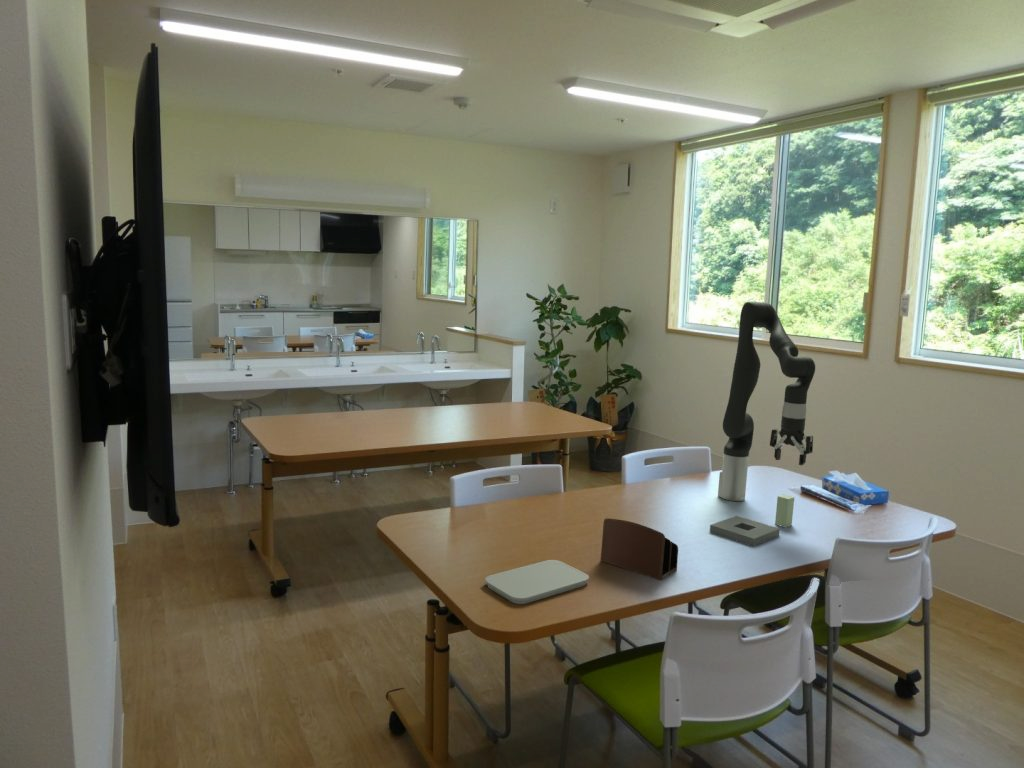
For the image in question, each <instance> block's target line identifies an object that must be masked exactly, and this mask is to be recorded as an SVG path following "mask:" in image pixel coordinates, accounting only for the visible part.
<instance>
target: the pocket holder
mask: <svg viewBox="0 0 1024 768" xmlns="http://www.w3.org/2000/svg"><path fill="white" fill-rule="evenodd" d="M780 530H781V529H780V528H779V527H775V526H773V525H770V524H769V525H768V524H765V523H763V522H759V521H756V520H752V519H749V518H746V517H742V516H738V515H734V516H732V517H728V518H726V519H723V520H720V521H718V522H714V523H711V524H710V525H709V533H712V534H715V535H718V536H720V535H721V536H720V537H723V536H724V537H723V538H726V537H727V539H729V538H730V539H729V540H733V541H736V540H737V541H736V542H739V541H740V542H739V543H742V542H743V543H742V544H745V543H746V544H745V545H748V544H749V546H751V545H752V546H751V547H755V546H757V544H758V545H760V544H762V542H763V543H765V542H767V540H768V541H770V540H772V538H773V539H775V538H777V536H778V537H780V533H781V532H780ZM764 541H765V542H764ZM759 543H760V544H759ZM754 545H755V546H754Z"/></svg>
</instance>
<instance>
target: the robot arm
mask: <svg viewBox="0 0 1024 768" xmlns="http://www.w3.org/2000/svg"><path fill="white" fill-rule="evenodd" d="M740 311H741V312H740V315H739V316H740V317H739V327H738V328H739V329H738V340H737V341H738V342H737V348H736V354H735V360H734V364H733V369H732V370H733V372H732V377H731V384H730V389H729V390H730V391H729V397H728V402H727V405H726V409H725V412H724V417H723V420H722V431H723V433H724V434H725V436H726V437H728V440H727V442H726V444H725V445H724V447H723V454H722V455H723V457H722V458H723V459H722V468H721V470H722V471H720V472H719V477H718V489H717V497H720V498H721V499H723V500H727V501H730V502H731V501H732V502H742V501H745V499H746V491H747V481H748V479H747V478H748V469H749V459H750V458H749V457H750V450H751V448H752V446H753V439H754V437H753V436H754V429H755V423H754V420H753V417H752V416H751V414H749V413H747V408H748V403H749V401H750V398H751V397H752V395H753V393H754V391H755V389H756V386H757V384H758V381H759V377H760V376H759V375H760V371H761V360H760V356H759V353H758V352H757V350H756V348H755V344H754V339H753V337H754V330H755V329H754V328H765V329H766V330H767V331H768V332H769V333H770V335H769V341H768V342H769V346H770V349H771V350H772V351H773V353H774V355H775V357H777V359H778V363H779V365H780V369H781V373H782V374H783V375H784V376H785V377H787V378H790V379H791V378H792V379H795V378H796V381H795V382H794V383H790V384H788V385H786V387H785V390H784V396H783V397H784V398H783V406H782V411H781V421H780V422H781V423H780V430H779V429H778V428H774V429H772V430H771V433H770V439H769V446H770V447H773V448H774V454H773V455H774V458H775V461H780V460H781V457H782V447H783V446H784V445H786V446H788V445H790V446H792V447H796V449H797V450H798V452H799V458H798V465H799V466H805V464H806V462H807V455H809V454H812V453H813V451H814V450H813V449H814V447H813V446H814V436H813V435H805V427H806V418H807V398H808V391H809V389H810V386H811V383H812V381H813V379H814V376H815V373H816V372H815V371H816V364H815V361H814V359H812V358H811V357H809V356H799V349H798V347H797V346H796V345H795V342H793V340H792V339H791V338H790V337H789V335H788V334H787V332H786V330H785V328H784V326H783V324H782V321H781V320H780V318H779V316H778V312H777V311H776V309H775V308H774V306H773V305H772V304H771V303H769V302H763V301H762V302H761V301H749V300H748V301H746V302H745V303H744V304H743V305H742V308H741V310H740ZM778 436H780V439H779V440H778ZM803 440H804V442H805V444H804V442H803Z"/></svg>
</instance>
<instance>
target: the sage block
mask: <svg viewBox="0 0 1024 768" xmlns="http://www.w3.org/2000/svg"><path fill="white" fill-rule="evenodd" d="M776 499H777V500H776V511H775V520H774V524H775V525H776V524H777V526H779V525H781V526H780V527H783V526H784V528H788V527H790V526H789V525H791V526H792V525H793V515H794V504H795V496H792V495H787V494H779V495H778V496H777V498H776ZM787 526H788V527H787Z"/></svg>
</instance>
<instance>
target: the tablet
mask: <svg viewBox="0 0 1024 768" xmlns="http://www.w3.org/2000/svg"><path fill="white" fill-rule="evenodd" d="M484 581H485V582H484V583H485V584H486V585H487V588H488V589H490V590H491V591H493V592H495V593H496V594H498V595H499V596H501V597H503V598H505V599H507V600H508V601H510V602H511V603H512V604H517V605H525V604H530V603H532V602H536V601H538V600H542V599H545V598H548V597H551V596H556V595H559V594H562V593H565V592H569V591H571V590H575V589H578V588H581V587H585V586H586V585H587V582H589V581H590V575H588V574H587V573H585V572H583V571H582V570H579V569H577V568H575V567H573V566H571V565H569V564H567V563H565V562H563V561H561V560H558V559H557V560H556V559H547V560H543V561H542V560H541V561H540V562H537V563H531V564H527V565H524V566H521V567H516V568H512V569H509V570H505V571H501V572H497V573H494V574H490V575H488V576H486V577H485V579H484Z"/></svg>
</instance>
